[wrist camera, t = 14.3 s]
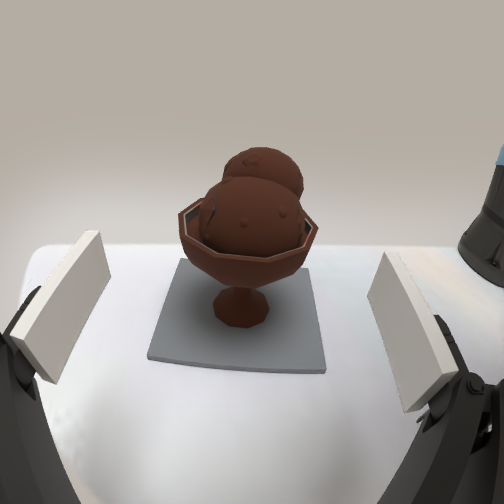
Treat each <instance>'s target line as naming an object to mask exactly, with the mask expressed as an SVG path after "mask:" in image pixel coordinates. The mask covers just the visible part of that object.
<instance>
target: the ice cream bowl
mask: <svg viewBox="0 0 504 504" xmlns="http://www.w3.org/2000/svg"><path fill="white" fill-rule="evenodd" d="M303 190H304V187H303V177H302V174H301V172H300V169H299V167H298V166H297V165H296V163H295V162H294V161H293V160H292V159H291V158H290V157H289V156H287V155H285V154H284V153H282V152H281V151H279V150H276V149H271V148H267V147H255V148H250V149H248V150H246V151H243V152H240V153H239V154H238V155H236V156H234V157H232V158H231V159H230V160H229V161H228V163H227V164H226V165H225V168H224V173H223V178H222V181H221V182H220V183H218V184H217V185H215V186H214V187H212V188H211V189H210V190H209V191H208V193H207V194H206V196H205V197H204V198H200V199H198V200H197V201H196V202H194V203H193V204H191V205H190V206H188V207H187V208H186V209H184V210H183V211H181V212H180V213H179V214H178V219H179V235H180V239H181V243H182V246H183V250H184V253H185V254H186V256H187V257H188V259H189V260H190V262H191V263H192V264H193V265H194V266H196V267H197V268H199V269H200V270H202V271H203V272H205V273H206V274H208V275H209V276H211V277H212V278H214V279H216V280H217V281H219V282H220V283H222V284H224V285H226V286H232V287H229V288H226V289H223V290H221V291H220V293H219V294H218V295H217V297H216V298H215V299H214V301H213V309H214V313H215V317H216V318H218V319H219V320H221V321H222V322H223V323H225V324H226V325H228V326H230V327H239V328H250V327H253V326H255V325H257V324H260V323H262V322H264V320H265V318H266V316H267V314H268V312H269V310H270V309H269V305H268V303H267V300H266V298H265V296H264V294H262V293H261V292H259V291H257V290H256V288H259V287H262V286H265V285H267V284H270V283H273V282H275V281H278V280H281V279H283V278H286V277H288V276H291V275H293V274H294V273H295V272H296V271H297V270H298V269H299V268H300V267H301V266H302V265H303V263H304V261H305V258H306V256H307V254H308V252H309V250H310V248H311V245H312V243H313V240H314V238H315V235H316V233H317V230H318V227H317V225H316V224H315V223H314V222H313V221H312V219H311V218H310V217H309V216H308V215H307V214H306V212H305V211H304V210H303V209H302V207H301V204H300V202H299V200H300V197H301V195H302V192H303Z"/></svg>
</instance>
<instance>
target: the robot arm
mask: <svg viewBox="0 0 504 504" xmlns="http://www.w3.org/2000/svg"><path fill="white" fill-rule="evenodd" d="M458 249H459V252H460V254H461V255H462V257H463V258H464V259H465V261H466V262H467V263H468V264H469V265H470V266H471V267H472V268H473V269H474V270H475V271H477V272H478V273H479V274H480V275H482V276H483V277H485V278H486V279H488V280H489V281H491V282H493V283H495V284H497V285H499V286H502V287H504V144H503V146H502V147H501V150H500V154H499V157H498V160H497V161H496V169H495V172H494V175H493V179H492V181H491V185H490V187H489V191H488V193H487V196H486V199H485V202H484V205H483V207H482V210H481V212H480V214H479V215H478V217H477V218H476V219H475V220H474V221H473V223H472V224H471V225H470V227H469V228H468V230H467V231H465V232H464V233H463V235H462V237H461V239H460V242H459V244H458ZM110 278H111V274H110V271H109V267H108V263H107V260H106V256H105V252H104V248H103V243H102V240H101V235H100V231H91V230H86V232H85V233H84V234H83V235H82V236H81V237H80V239H79V240H78V241H77V242H76V243H75V244H74V246H73V247H72V248H71V249H70V250H69V252H68V253H67V254H66V255H65V257H64V258H63V259H62V260H61V262H60V263H59V264H58V265H57V267H56V268H55V269H54V271H53V272H52V273H51V274H50V276H49V277H48V278H47V280H46V281H45V282H44V284H43V285H42V286H38V287H37V288H36V289H34V290H33V291H32V292H31V293H30V294H29V295H28V297H27V298H26V300H25V301H24V303H23V304H22V305H21V307H20V308H19V310H18V311H17V313H16V314H15V316H14V317H13V319H12V320H11V322H10V323H9V325H8V327H7V328H6V330H5V331H4V333H3V334H1V333H0V504H81V503H80V501H79V499H78V497H77V495H76V493H75V491H74V489H73V487H72V485H71V483H70V480H69V478H68V476H67V474H66V471H65V469H64V467H63V464H62V462H61V459H60V457H59V454H58V452H57V449H56V446H55V444H54V441H53V438H52V435H51V432H50V429H49V426H48V423H47V420H46V416H45V413H44V409H43V406H42V402H41V398H40V394H39V390H38V386H37V382H36V380H35V378H34V375H35V373H36V372H37V373H38V374H39V376H40V377H41V378H42V379H43V380H45V381H48V382H50V383H53V384H56V385H57V383H58V380H59V378H60V376H61V374H62V371H63V369H64V367H65V365H66V362H67V360H68V358H69V356H70V354H71V352H72V350H73V348H74V346H75V343H76V341H77V339H78V337H79V335H80V333H81V331H82V329H83V327H84V325H85V324H86V322H87V320H88V318H89V316H90V314H91V312H92V310H93V308H94V307H95V305H96V303H97V301H98V299H99V297H100V296H101V294H102V292H103V290H104V289H105V287H106V285H107V283H108V282H109V280H110ZM367 297H368V300H369V303H370V305H371V308H372V311H373V314H374V316H375V319H376V322H377V325H378V328H379V331H380V334H381V337H382V340H383V343H384V346H385V349H386V352H387V355H388V358H389V362H390V365H391V368H392V371H393V375H394V378H395V382H396V385H397V389H398V392H399V396H400V400H401V403H402V407H403V411H404V413H407V412H412V411H417V410H420V409H421V408H422V407H423V406H425V405H426V404H427V403H428V405H429V408H430V409H429V410H428V411H426V412H425V413H424V414H423V415H422V416H421V417H420V418H418V420H417V421H416V422H417V423H419V422H420V421H421V420H422V419H423V421H422V423H421V425H420V427H419V430H418V432H417V434H416V436H415V438H414V440H413V442H412V444H411V446H410V448H409V450H408V452H407V454H406V456H405V458H404V460H403V462H402V463H401V465H400V467H399V469H398V471H397V472H396V474H395V476H394V478H393V479H392V481H391V483H390V484H389V486H388V487H387V489H386V491H385V492H384V494H383V495H382V497H381V498H380V500H379V501H378V503H377V504H504V379H503V380H501V381H500V382H499V383H498V384H497V385H489V384H485V383H484V381H483V380H482V378H481V377H480V376H478V375H477V374H475V373H472V372H470V373H469V371H468V369H467V366H466V364H465V362H464V359H463V357H462V355H461V353H460V351H459V349H458V346H457V344H456V343H455V340H454V338H453V336H452V335H451V332H450V330H449V328H448V326H447V324H446V323H445V322H444V321H443V319H442V318H441V317H440V316H439V315H433V314H432V312H431V310H430V308H429V306H428V304H427V302H426V300H425V298H424V297H423V295H422V293H421V291H420V289H419V287H418V286H417V284H416V282H415V280H414V279H413V277H412V275H411V273H410V272H409V270H408V268H407V267H406V265H405V263H404V261H403V260H402V258H401V257H400V255H399V253H398V252H386V251H384V254H383V256H382V259H381V262H380V264H379V267H378V270H377V272H376V275H375V277H374V280H373V282H372V285H371V287H370V290H369V292H368V295H367ZM491 424H492V431H490V432H488V427H489V426H490V425H491Z"/></svg>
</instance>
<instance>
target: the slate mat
mask: <svg viewBox="0 0 504 504" xmlns="http://www.w3.org/2000/svg"><path fill="white" fill-rule="evenodd" d="M229 287H232V286H226V285H224V284H222V283H220V282H219V281H217V280H216V279H214V278H212V277H211V276H209V275H208V274H206V273H205V272H203V271H202V270H200V269H199V268H197V267H196V266H194V265H193V264H192V263H191V262H190V260H189V259H185V258H181V259H180V261H179V264H178V267H177V269H176V272H175V275H174V277H173V280H172V283H171V285H170V288H169V291H168V294H167V297H166V299H165V302H164V305H163V308H162V311H161V314H160V317H159V319H158V322H157V325H156V328H155V331H154V334H153V337H152V340H151V343H150V347H149V350H148V353H147V357H148V359H150V360H156V361H163V362H169V363H176V364H183V365H191V366H199V367H208V368H218V369H229V370H241V371H256V372H277V373H325V371H326V363H325V357H324V351H323V345H322V339H321V333H320V327H319V322H318V316H317V311H316V306H315V300H314V295H313V290H312V285H311V280H310V275H309V270H308V268H299V269H298V270H297V271H296V272H295V273H294V274H293V275H291V276H288V277H286V278H283V279H281V280H278V281H275V282H273V283H270V284H267V285H265V286H262V287H259V288H256V290H257V291H259V292H261V293H262V294H264V296H265V298H266V300H267V303H268V305H269V309H270V310H269V312H268V314H267V316H266V318H265V320H264V322H262V323H260V324H257V325H255V326H253V327H250V328H239V327H230V326H228V325H226V324H225V323H223V322H222V321H221V320H219V319H218V318H216V317H215V313H214V309H213V301H214V299H215V298H216V297H217V295H218V294H219V293H220V291H221V290H223V289H226V288H229Z"/></svg>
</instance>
